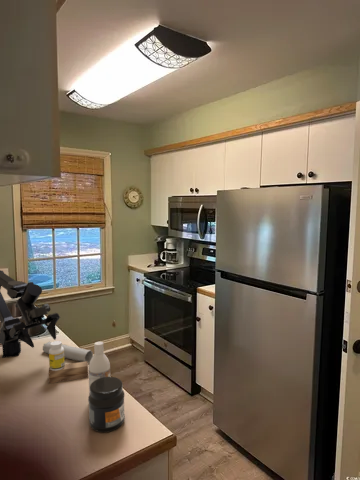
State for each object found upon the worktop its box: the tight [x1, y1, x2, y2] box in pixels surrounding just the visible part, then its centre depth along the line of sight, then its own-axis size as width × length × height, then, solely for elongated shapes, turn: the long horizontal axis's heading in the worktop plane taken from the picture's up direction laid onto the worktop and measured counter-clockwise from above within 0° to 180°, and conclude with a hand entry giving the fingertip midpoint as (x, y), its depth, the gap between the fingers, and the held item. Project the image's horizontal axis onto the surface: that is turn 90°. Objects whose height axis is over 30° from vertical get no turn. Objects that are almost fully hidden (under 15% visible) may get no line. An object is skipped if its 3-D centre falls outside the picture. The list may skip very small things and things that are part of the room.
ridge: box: [48, 361, 89, 384], centre depth 126 cm, size 14×6×4 cm, turn 108°
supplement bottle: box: [48, 340, 66, 371], centre depth 124 cm, size 5×5×10 cm
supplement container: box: [87, 376, 126, 433], centre depth 99 cm, size 10×10×12 cm
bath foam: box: [88, 341, 111, 396], centre depth 110 cm, size 7×7×20 cm
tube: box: [42, 341, 94, 364], centre depth 143 cm, size 5×5×25 cm
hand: (44, 343), depth 128 cm, fingers open, 9 cm apart
